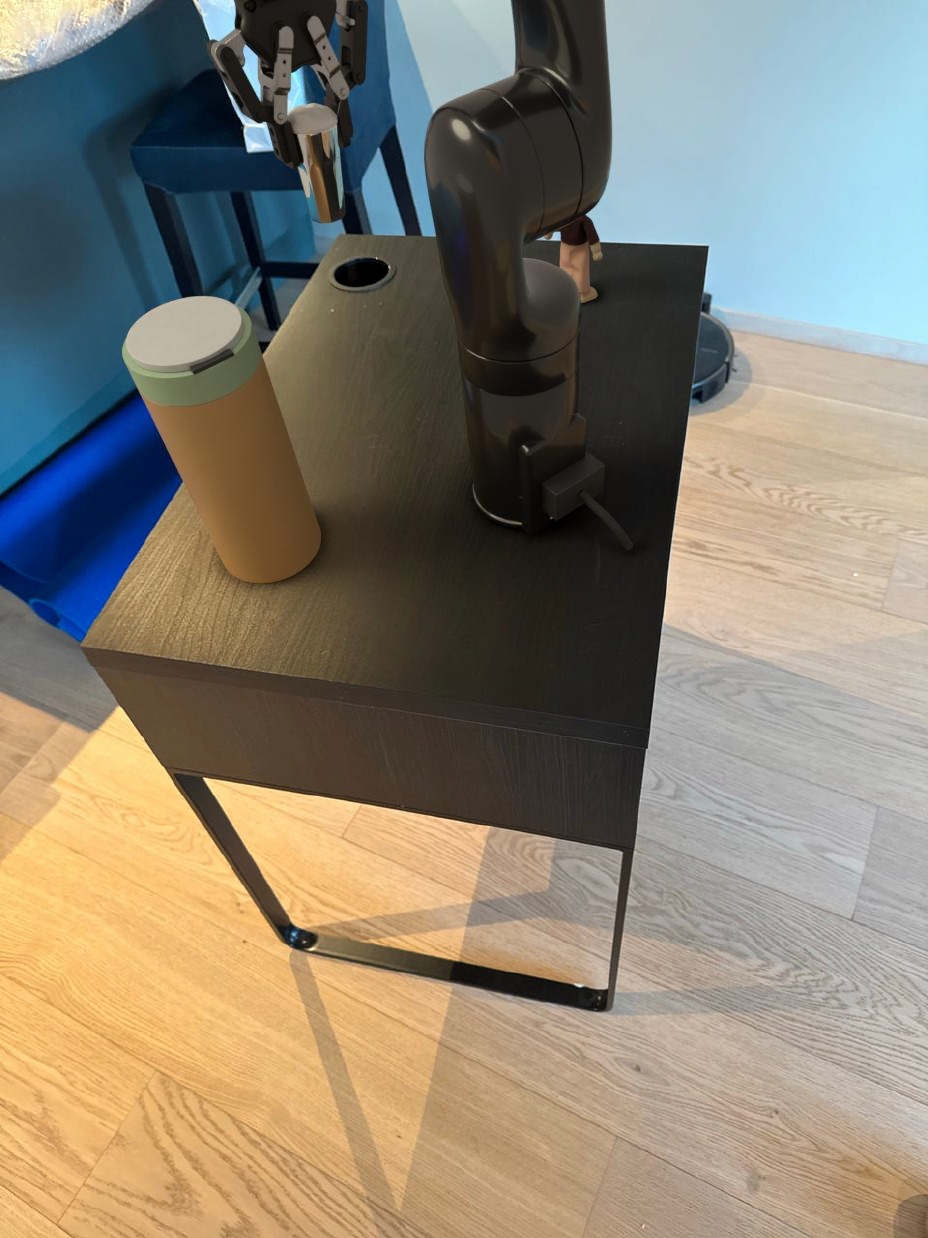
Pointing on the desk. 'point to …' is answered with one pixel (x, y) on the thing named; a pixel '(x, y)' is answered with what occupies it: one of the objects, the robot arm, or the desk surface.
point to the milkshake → (319, 160)
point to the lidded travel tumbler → (225, 434)
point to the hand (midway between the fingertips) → (317, 153)
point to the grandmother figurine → (579, 253)
